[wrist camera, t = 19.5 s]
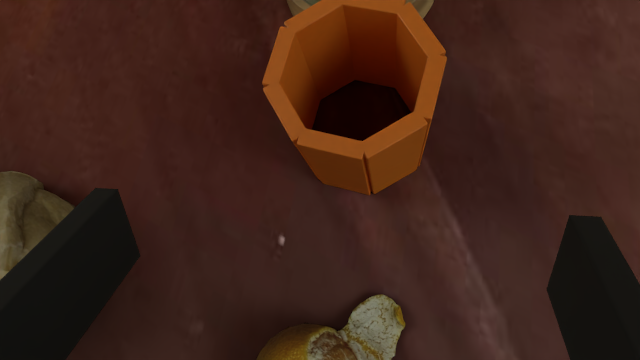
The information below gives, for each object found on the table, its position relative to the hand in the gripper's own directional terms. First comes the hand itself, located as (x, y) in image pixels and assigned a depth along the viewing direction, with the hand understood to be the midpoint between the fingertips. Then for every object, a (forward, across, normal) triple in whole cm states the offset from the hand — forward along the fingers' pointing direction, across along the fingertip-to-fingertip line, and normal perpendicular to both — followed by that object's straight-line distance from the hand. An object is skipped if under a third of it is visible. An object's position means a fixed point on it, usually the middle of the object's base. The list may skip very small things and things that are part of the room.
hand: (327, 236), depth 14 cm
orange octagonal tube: (+14, 0, -4) cm, 15 cm away
